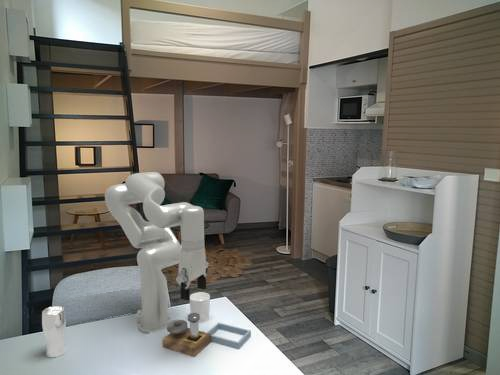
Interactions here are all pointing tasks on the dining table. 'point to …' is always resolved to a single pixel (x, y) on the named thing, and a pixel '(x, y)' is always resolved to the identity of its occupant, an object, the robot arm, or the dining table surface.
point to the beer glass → (54, 330)
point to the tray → (230, 329)
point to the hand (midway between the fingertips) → (193, 293)
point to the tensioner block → (184, 339)
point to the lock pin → (194, 326)
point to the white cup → (200, 305)
